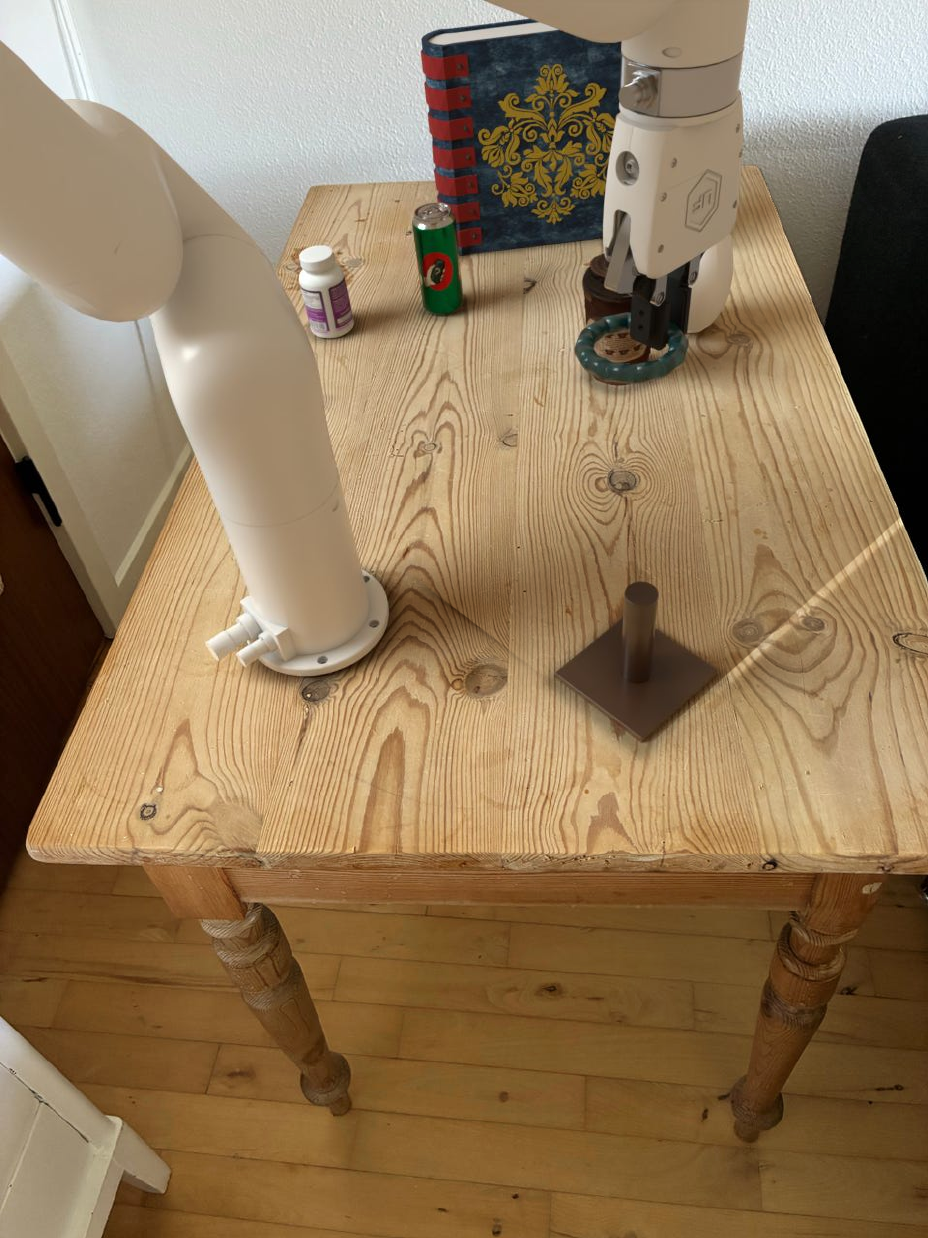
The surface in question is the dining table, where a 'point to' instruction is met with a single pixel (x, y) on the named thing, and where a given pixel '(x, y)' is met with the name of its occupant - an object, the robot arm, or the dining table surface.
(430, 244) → the soda can
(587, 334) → the ring
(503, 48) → the book
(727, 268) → the white curved piece
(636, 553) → the dining table surface
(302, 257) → the pill bottle
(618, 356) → the coffee cup
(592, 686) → the peg stand
